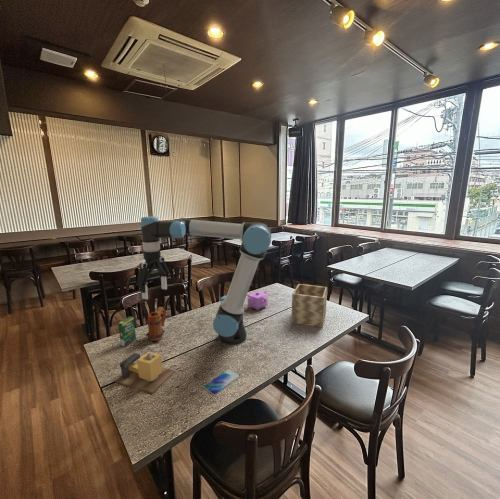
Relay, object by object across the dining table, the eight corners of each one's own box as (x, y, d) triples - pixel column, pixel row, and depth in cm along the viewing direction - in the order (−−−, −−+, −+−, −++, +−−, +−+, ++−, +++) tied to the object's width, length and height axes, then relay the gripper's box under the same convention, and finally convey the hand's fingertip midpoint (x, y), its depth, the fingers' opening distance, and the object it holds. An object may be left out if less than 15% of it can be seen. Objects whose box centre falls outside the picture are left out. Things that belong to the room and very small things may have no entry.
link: (162, 371, 114) (161, 354, 113) (151, 381, 109) (149, 363, 107) (133, 363, 120) (132, 346, 119) (122, 371, 114) (120, 354, 113)
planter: (325, 313, 172) (327, 287, 169) (322, 327, 155) (324, 298, 151) (297, 309, 179) (298, 283, 175) (291, 322, 161) (292, 293, 158)
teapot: (267, 312, 175) (267, 296, 173) (247, 312, 176) (246, 296, 173) (267, 303, 190) (267, 288, 188) (248, 302, 191) (248, 288, 188)
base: (174, 372, 117) (173, 347, 115) (152, 394, 104) (150, 366, 102) (140, 362, 124) (137, 339, 121) (115, 382, 111) (112, 356, 109)
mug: (158, 344, 139) (156, 317, 136) (144, 342, 140) (141, 315, 137) (171, 330, 153) (170, 305, 150) (158, 328, 154) (156, 304, 151)
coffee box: (124, 347, 136) (121, 323, 133) (120, 346, 137) (117, 322, 134) (136, 339, 143) (134, 316, 140) (132, 338, 144) (130, 315, 142)
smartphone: (241, 375, 114) (214, 395, 103) (241, 377, 115) (214, 397, 104) (229, 367, 119) (202, 386, 108) (229, 369, 119) (202, 388, 108)
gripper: (162, 244, 138) (165, 284, 142) (124, 255, 115) (129, 302, 120) (174, 245, 135) (177, 286, 140) (138, 256, 113) (142, 304, 117)
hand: (155, 293), depth 130 cm, fingers open, 13 cm apart
